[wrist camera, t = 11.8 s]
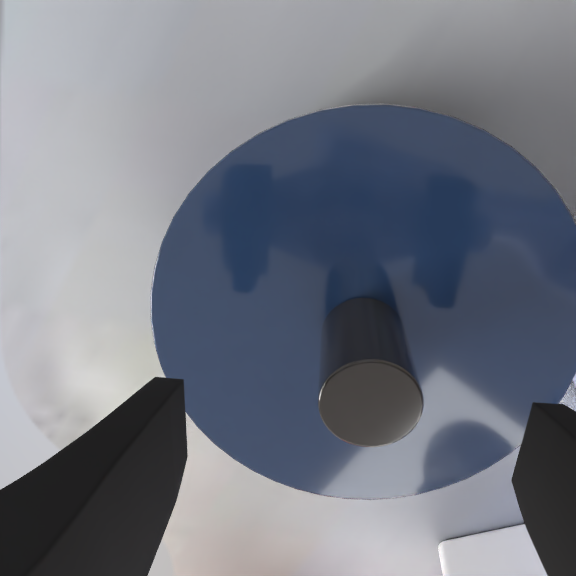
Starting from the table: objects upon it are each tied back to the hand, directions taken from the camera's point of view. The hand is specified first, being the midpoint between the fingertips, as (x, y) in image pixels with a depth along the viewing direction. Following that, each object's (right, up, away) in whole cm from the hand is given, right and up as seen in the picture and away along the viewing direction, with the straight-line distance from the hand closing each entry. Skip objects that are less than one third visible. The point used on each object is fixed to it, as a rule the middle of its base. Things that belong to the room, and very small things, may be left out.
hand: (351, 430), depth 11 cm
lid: (+1, +2, +5) cm, 5 cm away
